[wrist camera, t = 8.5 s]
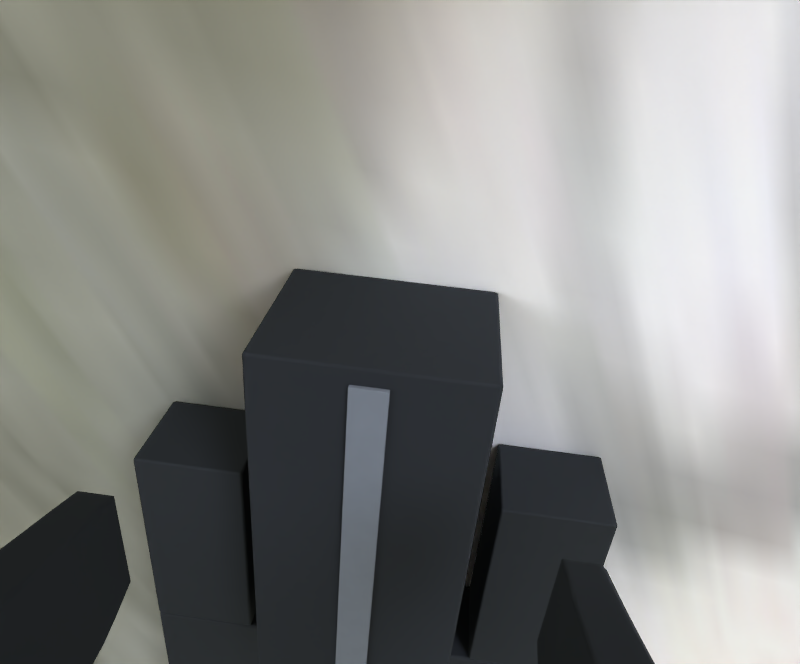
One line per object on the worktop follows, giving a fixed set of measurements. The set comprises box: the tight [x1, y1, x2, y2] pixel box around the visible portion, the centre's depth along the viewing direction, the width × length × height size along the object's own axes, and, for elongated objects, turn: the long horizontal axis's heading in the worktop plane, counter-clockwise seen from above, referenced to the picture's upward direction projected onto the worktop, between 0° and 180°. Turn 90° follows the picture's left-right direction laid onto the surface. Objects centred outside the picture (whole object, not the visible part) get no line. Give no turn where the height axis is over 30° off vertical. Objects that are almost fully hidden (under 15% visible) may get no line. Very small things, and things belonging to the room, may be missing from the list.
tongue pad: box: [242, 269, 503, 664], centre depth 16 cm, size 10×5×4 cm, turn 175°
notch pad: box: [134, 402, 617, 664], centre depth 20 cm, size 14×12×2 cm
